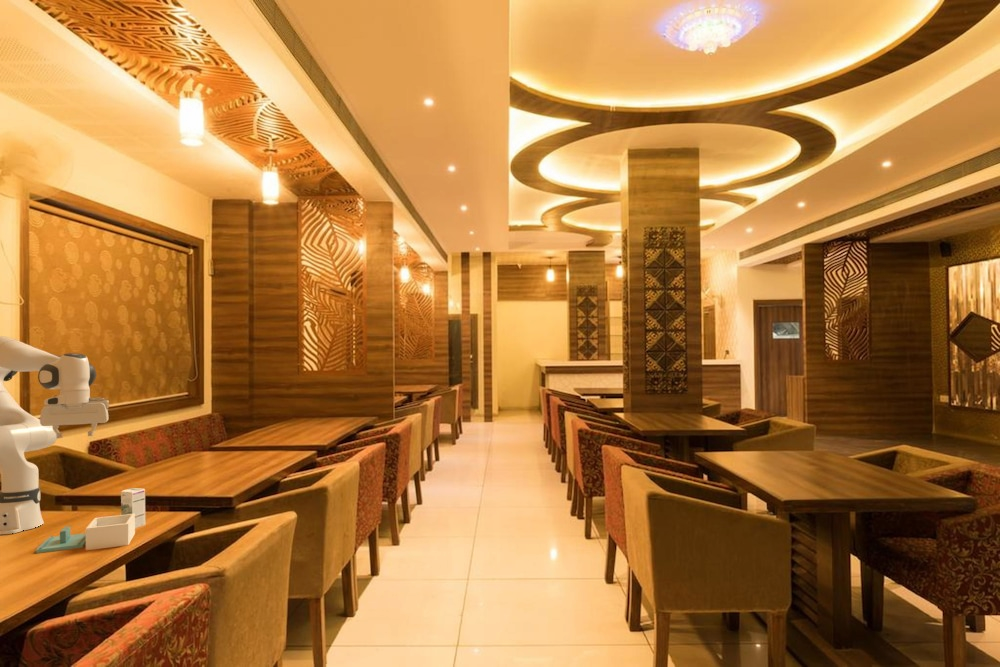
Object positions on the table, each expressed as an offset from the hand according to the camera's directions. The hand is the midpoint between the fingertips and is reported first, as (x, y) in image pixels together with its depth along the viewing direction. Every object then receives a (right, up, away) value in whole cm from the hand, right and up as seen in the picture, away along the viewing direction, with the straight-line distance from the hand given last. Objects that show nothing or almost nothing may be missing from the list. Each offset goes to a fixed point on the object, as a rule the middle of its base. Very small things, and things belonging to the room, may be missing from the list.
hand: (75, 437), depth 220 cm
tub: (+20, -35, -12) cm, 42 cm away
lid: (+6, -35, -14) cm, 38 cm away
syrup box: (+17, -35, +6) cm, 40 cm away
